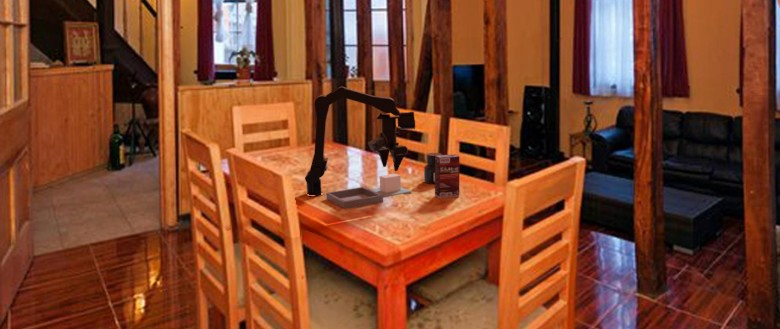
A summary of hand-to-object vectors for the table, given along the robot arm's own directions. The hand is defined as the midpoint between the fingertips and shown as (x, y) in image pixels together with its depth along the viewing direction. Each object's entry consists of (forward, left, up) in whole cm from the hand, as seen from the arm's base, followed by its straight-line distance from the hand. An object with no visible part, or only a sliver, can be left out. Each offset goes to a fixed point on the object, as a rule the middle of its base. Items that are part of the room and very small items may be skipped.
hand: (390, 168), depth 219 cm
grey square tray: (+4, -18, -10) cm, 21 cm away
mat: (0, 0, -10) cm, 10 cm away
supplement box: (+18, +15, -10) cm, 25 cm away
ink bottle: (-4, +24, -10) cm, 26 cm away
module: (0, 0, -9) cm, 9 cm away
